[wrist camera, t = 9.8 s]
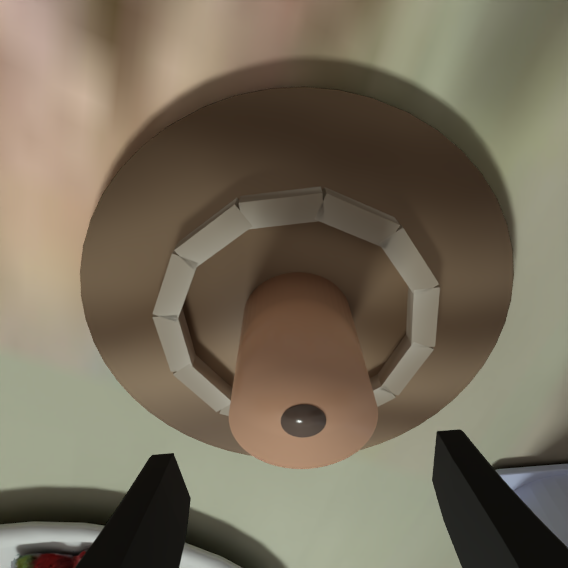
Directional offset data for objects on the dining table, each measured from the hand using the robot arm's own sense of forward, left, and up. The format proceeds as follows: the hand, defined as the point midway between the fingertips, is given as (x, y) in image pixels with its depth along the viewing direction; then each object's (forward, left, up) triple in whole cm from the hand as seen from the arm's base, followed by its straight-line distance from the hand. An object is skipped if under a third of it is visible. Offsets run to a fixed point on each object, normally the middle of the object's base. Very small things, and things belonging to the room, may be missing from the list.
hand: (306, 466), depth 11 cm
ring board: (0, 0, -8) cm, 8 cm away
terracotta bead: (0, 0, -7) cm, 7 cm away
